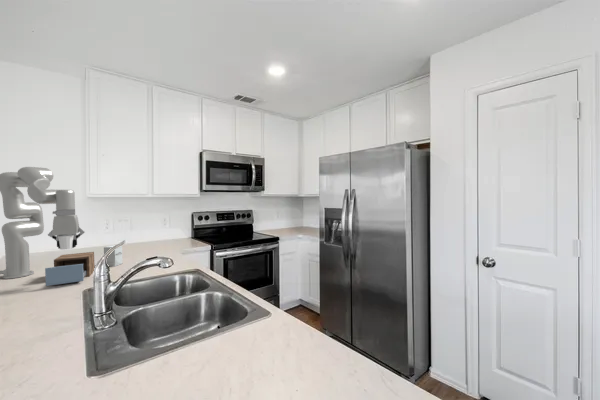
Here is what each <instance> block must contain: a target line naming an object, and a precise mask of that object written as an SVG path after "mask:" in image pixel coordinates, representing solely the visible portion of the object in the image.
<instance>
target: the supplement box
mask: <svg viewBox="0 0 600 400" xmlns="http://www.w3.org/2000/svg"><path fill="white" fill-rule="evenodd" d="M115 245H116V244H115ZM115 245H107V246H105V247H103V255H104V254H105V253H106V252H107V251H108V250H109V249H110V248H112V247H113V246H115ZM107 264H108V265H109V266H110V267H112V268H114V267H117V266H121V265H122V264H123V245H122V246H120V247H118V248H116V249H115V250H114V251H113V252H112V253H111V254H110V255H109V256H108V258H107Z"/></svg>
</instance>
